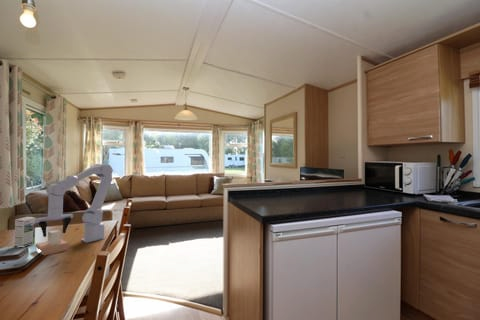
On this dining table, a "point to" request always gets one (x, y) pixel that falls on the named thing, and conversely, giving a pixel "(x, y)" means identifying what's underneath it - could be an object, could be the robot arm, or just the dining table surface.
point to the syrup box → (24, 231)
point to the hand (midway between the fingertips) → (54, 234)
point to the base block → (52, 247)
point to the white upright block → (54, 237)
